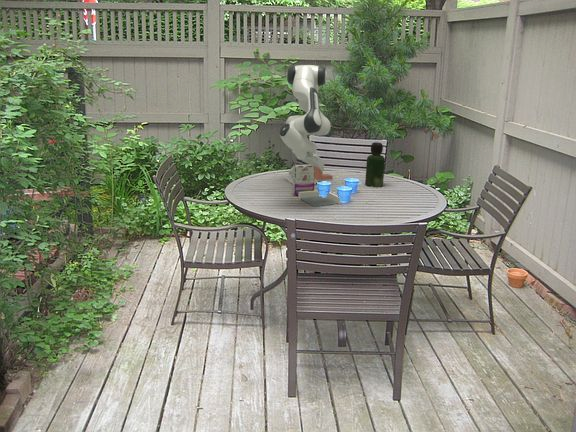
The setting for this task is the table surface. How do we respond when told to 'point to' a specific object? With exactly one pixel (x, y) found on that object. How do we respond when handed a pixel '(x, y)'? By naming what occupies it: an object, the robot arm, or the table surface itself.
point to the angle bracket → (321, 175)
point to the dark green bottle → (375, 166)
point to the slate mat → (318, 201)
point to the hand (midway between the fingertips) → (319, 168)
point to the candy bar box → (303, 178)
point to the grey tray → (316, 194)
